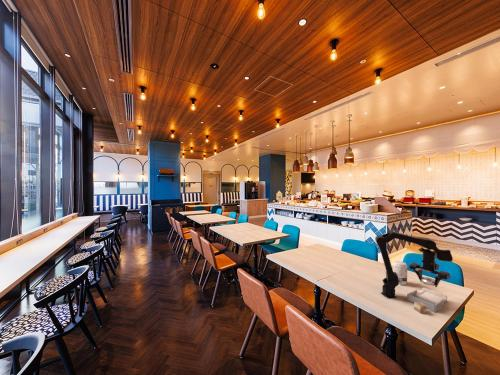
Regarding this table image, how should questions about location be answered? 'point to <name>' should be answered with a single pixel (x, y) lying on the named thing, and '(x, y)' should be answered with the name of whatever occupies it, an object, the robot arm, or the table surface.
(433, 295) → the tray
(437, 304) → the housing
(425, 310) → the pedestal
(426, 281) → the disc
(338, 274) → the table surface
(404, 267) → the supplement can
